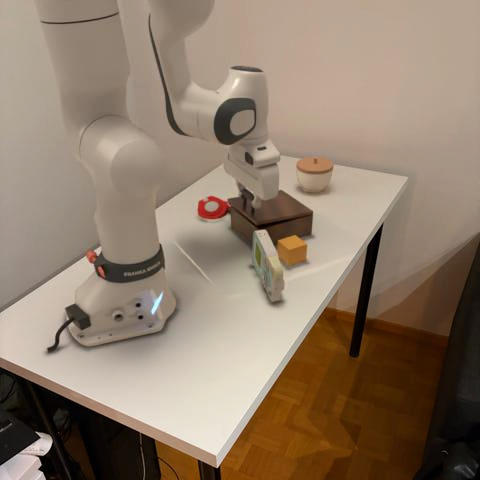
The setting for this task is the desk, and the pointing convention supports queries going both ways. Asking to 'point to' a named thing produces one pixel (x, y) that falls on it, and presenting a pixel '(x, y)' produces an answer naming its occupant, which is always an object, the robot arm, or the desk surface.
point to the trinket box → (314, 173)
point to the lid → (269, 207)
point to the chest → (272, 226)
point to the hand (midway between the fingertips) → (249, 202)
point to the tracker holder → (212, 207)
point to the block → (292, 250)
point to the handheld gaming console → (267, 264)
